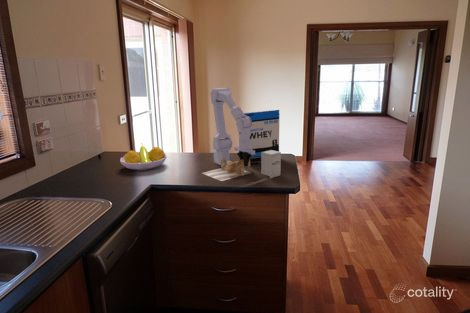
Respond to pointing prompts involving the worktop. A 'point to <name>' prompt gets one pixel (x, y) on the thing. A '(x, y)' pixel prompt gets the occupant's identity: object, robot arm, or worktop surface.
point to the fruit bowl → (144, 158)
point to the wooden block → (236, 166)
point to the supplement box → (271, 163)
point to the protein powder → (263, 133)
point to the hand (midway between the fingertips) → (244, 165)
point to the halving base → (226, 172)
